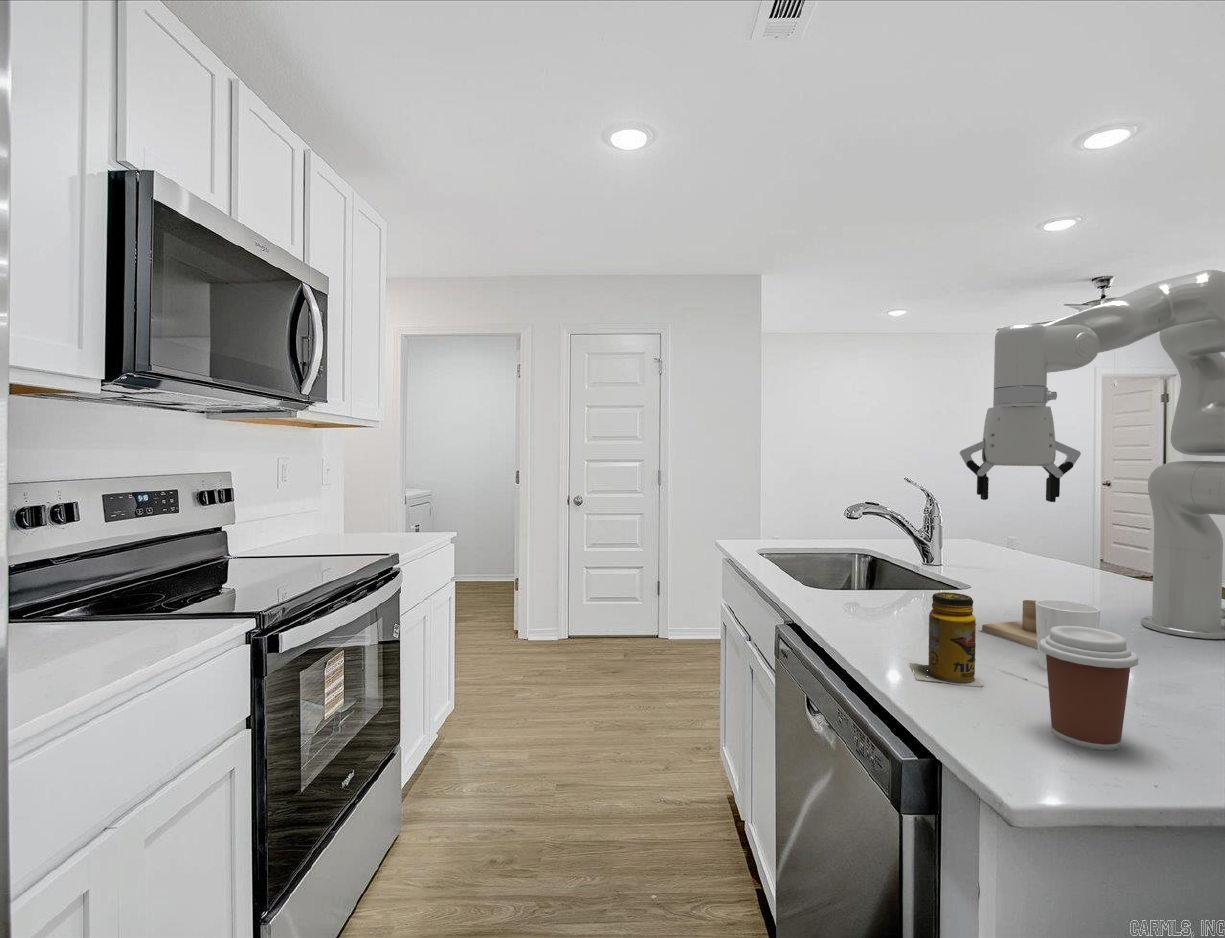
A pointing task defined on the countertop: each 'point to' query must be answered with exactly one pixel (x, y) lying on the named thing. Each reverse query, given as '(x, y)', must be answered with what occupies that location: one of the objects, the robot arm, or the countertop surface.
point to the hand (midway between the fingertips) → (1016, 500)
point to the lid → (1018, 627)
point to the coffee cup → (1087, 685)
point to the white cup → (1062, 619)
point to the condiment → (950, 641)
